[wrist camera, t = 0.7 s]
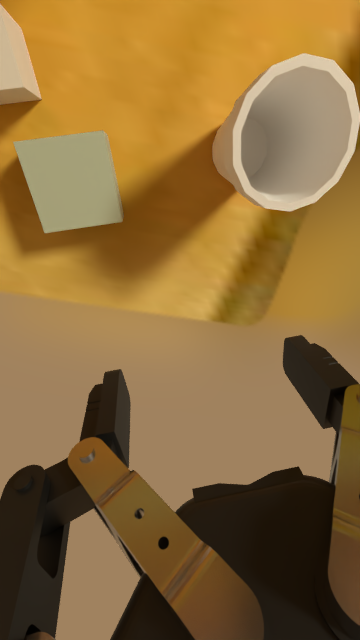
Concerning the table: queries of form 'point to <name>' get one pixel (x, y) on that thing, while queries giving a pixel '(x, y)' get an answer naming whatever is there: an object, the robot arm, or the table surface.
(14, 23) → the cream cube
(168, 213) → the table surface
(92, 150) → the green block
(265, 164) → the foam cup
